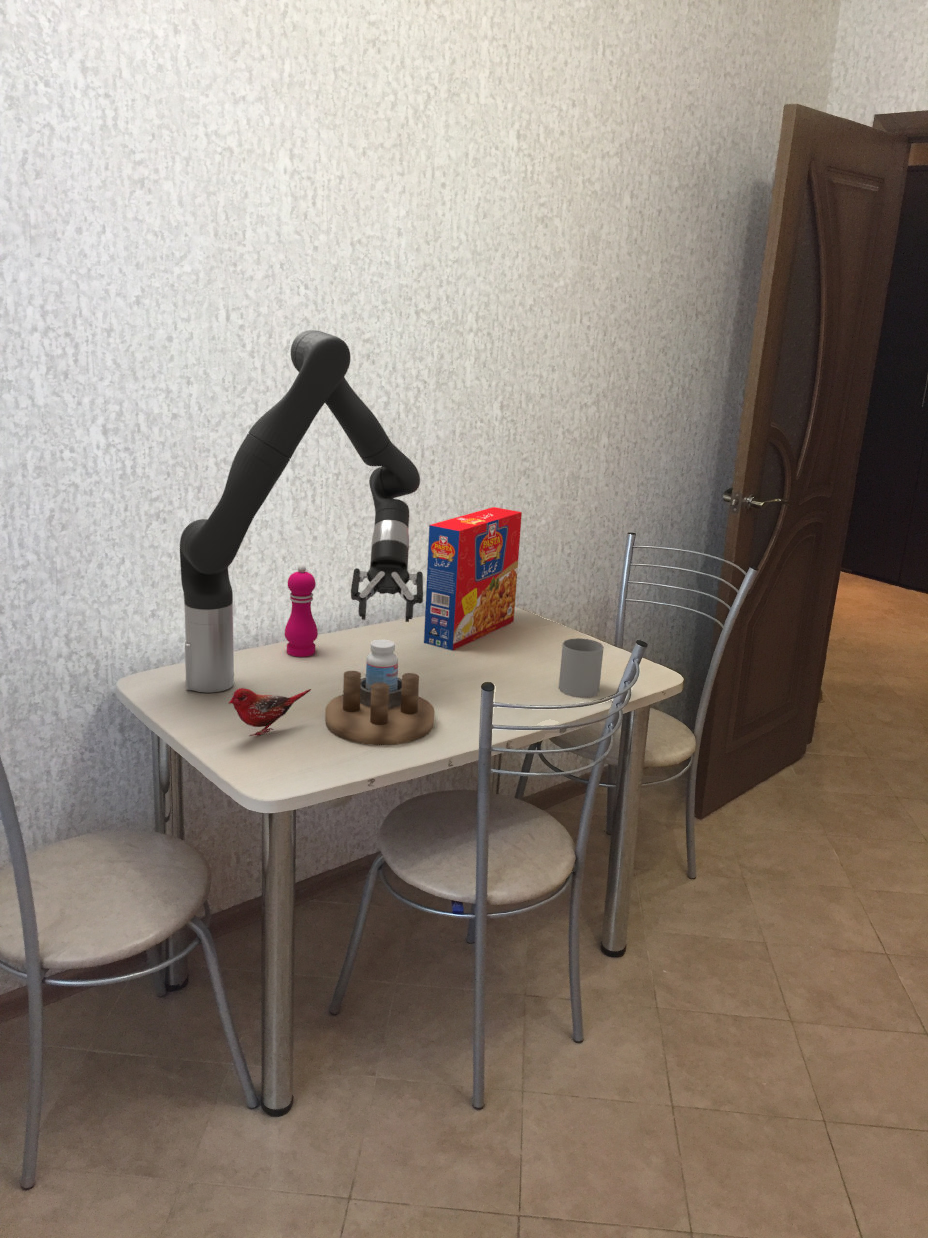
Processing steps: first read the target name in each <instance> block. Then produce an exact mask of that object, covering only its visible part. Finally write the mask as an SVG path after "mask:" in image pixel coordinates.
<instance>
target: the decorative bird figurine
mask: <svg viewBox="0 0 928 1238" xmlns="http://www.w3.org/2000/svg"><path fill="white" fill-rule="evenodd" d="M311 691H312V688H308V689H307V690H304V691H301V692H300V693H297V694H295V695H292V696H290V697H286V696H283V695H278V694H277V695H276V694H258V693H255V692H254V691H253V690H252V689H249V688H244V687H240V688H237V689H235V691H234V692H233V693H232V694H233V695H232V697H231V699H230V700H229V702H228V704H232V705H233V708H234V710H235V711H236V713H237V715H238V717H239V720H241V721H242V722H243V723H244V724H246V725H248V726H249V727H250V726H251V727H254V728H262V727H263V728H262V729H261V730H259V731H256V732H255V733H253V734H249V737H255V736H257V737H259V736H261V735H263V734H266V733H270V731H271V730H272V731H273V730H274V728H272V727H271V726H272V725H273V724H274V723H275V722H276V721H278V720H279V719H281V717H284V716H285V715H286V714H287V712H288V711H289V710H290V708H291V707H292V706H293V705H294V703H295V702H297V701H299V700H300V699H301V698H302V697H304V696H306V694H308V693H309V692H311Z"/></svg>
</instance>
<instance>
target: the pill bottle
mask: <svg viewBox="0 0 928 1238" xmlns="http://www.w3.org/2000/svg"><path fill="white" fill-rule="evenodd" d="M395 651H396V644H395V642H394V641H392V640H388V639H375V640H372V641H371V642H370V653H369V654H368V655H367V657H366V660H365V661H366V662H365V663H366V664H365V670H366V671H365V677H366V689H367V690H369V691H371V685H372V684H374V683H386V684H388V685H389V692H393V691H396V690H397V687H398V678H399V657H398V655H397V654H395Z"/></svg>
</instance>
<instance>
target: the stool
mask: <svg viewBox="0 0 928 1238" xmlns="http://www.w3.org/2000/svg"><path fill="white" fill-rule="evenodd" d="M342 683H343V690H342V692H343V693H342V694H339V695H338V696H336V697H334V698H332V699H331V700H330V701H329V702H328V703H327V704H326V706H325V716H324V717H325V720H324V721H325V727H326V728H327V730H328V731H329V732H330V733H332V734H333V735H334V736H336V737H338V738H341V739H343V740H345V741H349V742H352V743H356V744H361V745H362V744H363V745H370V746H396V745H403V744H408V743H413V742H415V741H419V740H420V739H422V738H425V737H426V736H428V735H430V733H431V732H432V731H433V729H434V727H435V713H436V712H435V708H434V706H433V705H432V703H430V702H429V701H428V700H426V699H425V698H423V697H422V696H420V695H419V691H420V690H419V689H420V688H419V687H420V675H419V674H417V673H413V672H407V673H403V674H402V676H401V678H400V677H398V687H397V690H396V691H393V692H389V685H388V684H386V683H374V684H372V685H371V691H369V690H367V689H366V676H365V677H362V673H361V672H359V671H357V670H347V671H344V673H343V682H342Z"/></svg>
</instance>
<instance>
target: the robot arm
mask: <svg viewBox="0 0 928 1238" xmlns="http://www.w3.org/2000/svg"><path fill="white" fill-rule="evenodd" d="M290 359H291V362H292V366H294V368H295V370H296V371H297V372H298V374H297V375H296V378H295V379H294V381H293V383H292V385H291V387H290V388H289V390H287V392H286V394H285V395H283V397H282V398H281V399H280V400H279V401H277V403H275V404H274V405H273V406H272V407H271V408H270V409H269V410H267V411H265V413H264V414H263V415H262V416H261V417H260V418H258V419H257V420H256V421H255V423H254V424H253V425H252V427H251V428H250V429H249V431H248V433H247V434H246V435H245V438H244V439H243V441H242V443H241V444H240V446H239V448H238V449H237V451H236V454H235V456H234V457H233V460H232V463H231V465H230V468H229V472H228V476H227V478H226V483H225V487H224V490H223V492H222V495H221V497H220V499H219V501H218V503H217V505H216V507H215V508H214V509H213V511H212V512H211V514H210V516H209V517H208V518H200V519H196V520H193V521H192V522H190V523H189V524H188V525H186V527H185V528H184V529H183V531H182V533H181V536H180V539H179V562H180V563H179V564H180V580H181V587H182V591H183V603H184V632H185V633H184V634H185V642H184V660H185V663H184V664H185V665H184V667H185V690H186V691H194V692H198V693H207V694H208V693H219V692H223V691H227V690H229V689H231V688H233V687H234V684H235V661H234V660H235V658H234V657H235V655H234V649H235V648H234V605H233V604H234V599H233V598H234V595H233V594H234V593H233V587H232V585H231V581H230V580H231V579H230V575H229V566H231V564H232V563H233V561H234V560H235V558H236V556H237V554H238V552H239V550H240V547H241V545H242V543H243V541H244V539H245V536H246V534H247V532H248V531H249V528H250V526H251V524H252V522H253V520H254V519H255V516H256V514H257V513H259V512H258V511H259V510H260V508H261V507H262V506H263V504H264V503H265V501H266V500H267V498H268V496H269V494H270V493H271V492H272V490H273V488H274V486H275V484H277V482H278V481H279V479H280V477H281V476H282V474H283V472H284V471H285V469H286V468H287V466H288V464H289V462H290V460H291V459H292V457H293V455H294V453H295V451H296V450H297V448H298V446H299V444H300V443H301V442H302V440H303V438H304V437H305V435H306V434H307V431H308V430H309V428H310V427H311V424H312V423H313V422H314V419H315V418H316V417H317V415H318V413H319V412H320V410H321V409H322V408H323V406H324V405H325V404H326V406H327V408H328V409H329V411H330V412H331V413H332V415H333V416H334V418H335V419H336V421H337V423H338V424H339V425H340V426H341V428H342V429H343V431H344V433H345V435H346V436H347V438H348V439H349V442H350V443H351V444H352V446H353V448H354V450H355V451H356V453H357V454H358V456H359V457H360V458H361V461H362V462H363V463H364V464H365V465H366V466H369V467H376V468H375V469H374V470H373V471H372V472H371V473H370V476H369V479H368V481H369V482H368V485H369V489H370V492H371V496H372V500H373V506H374V513H375V515H374V528H373V532H372V538H371V550H370V565H369V569H368V570H367V571H364V570H363V571H362V570H361V569H360V568H359V567H358V568H357V567H355V568H354V569H353V573H352V580H351V587H350V598H351V600H352V601H357V602H358V617H361V620H364V621H365V620H366V619H367V618H366V616H367V603H368V602H367V601H369V600H370V599H371V598H372V597H374V595H376V594H377V593H379V594H381V595H385V594H390V595H396V594H398V595H399V596H400V598H402V600H404V602H405V604H406V605H405V622H406V623H409V622H410V620H413V618H414V606H415V605H417V604H422V603H423V602H424V580H423V579H424V576H423V575H424V574H423V571H417V572H416V573H409V567H408V566H409V553H410V552H409V551H410V550H409V549H410V534H409V527H410V526H409V525H410V507H409V505H408V504H407V503H406V502H405V501H404V500H401V499H397V498H399V497H403V496H407V495H408V496H409V495H410V494H414V493H415V492H416V491H417V490H418V489H419V487H420V484H421V476H420V472H419V470H418V468H417V467H416V465H415V464H414V462H412V460H411V459H410V458H409V457H408V456H407V455H405V453H404V452H402V451H401V450H400V449H399V448H398V447H397V446H396V445H395V444H394V443H393V442H392V441H391V439H390V438H389V436H388V435H387V432H386V430H385V429H384V428H383V427H384V426H383V425H382V424H381V423H380V420H378V417H376V415H375V414H374V413H373V412H372V410H371V409H370V408H369V407H368V405H367V404H366V403H365V402H364V401H363V400H362V399H361V398H360V397H359V395H358V394H357V393H356V392H355V391H354V389H353V388H352V386H351V385H350V384H349V383H348V380H347V379H346V377H345V376H346V375H347V373H348V370H349V368H350V365H351V350H350V347H349V346H348V344H347V343H346V342H345V340H343V339H342V338H340V337H338V336H336V335H332V334H330V333H327V332H325V331H321V330H316V329H309V330H305V331H302V332H301V333H299V334H298V335H297V336H296V337H295V338H294V340H293V341H292V344H291V346H290ZM365 579H367V581H368V582H369V583H368V584H366V587H365V588H364V589H363V590H362V591H361V592H360V591H359V588H360V583H363V582H364V580H365ZM410 581H411V582H412V584H413V586H414V585H415V586H416V594H412V592H411V591H410V590H409V588H408V586H407V583H408V582H410Z"/></svg>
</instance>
